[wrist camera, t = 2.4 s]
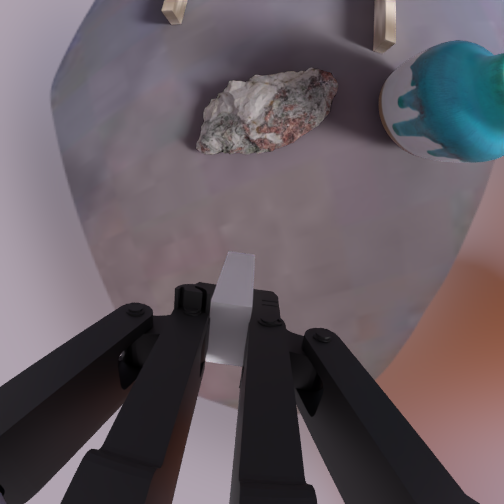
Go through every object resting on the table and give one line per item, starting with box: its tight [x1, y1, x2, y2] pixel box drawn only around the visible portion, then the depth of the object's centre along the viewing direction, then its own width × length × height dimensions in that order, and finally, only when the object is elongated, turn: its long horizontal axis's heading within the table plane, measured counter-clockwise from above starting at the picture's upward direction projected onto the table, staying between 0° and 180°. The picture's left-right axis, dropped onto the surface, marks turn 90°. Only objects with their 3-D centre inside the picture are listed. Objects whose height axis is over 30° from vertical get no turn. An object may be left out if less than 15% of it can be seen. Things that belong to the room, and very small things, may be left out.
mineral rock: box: [196, 67, 338, 155], centre depth 28 cm, size 15×8×4 cm, turn 99°
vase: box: [379, 40, 504, 162], centre depth 19 cm, size 11×11×19 cm
